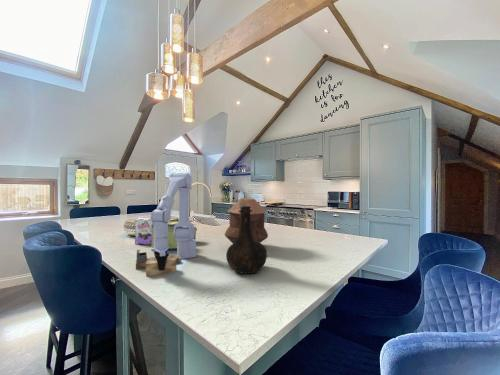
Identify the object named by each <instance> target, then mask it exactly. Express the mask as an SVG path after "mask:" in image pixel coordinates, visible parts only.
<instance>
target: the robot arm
mask: <svg viewBox="0 0 500 375" xmlns="http://www.w3.org/2000/svg"><path fill="white" fill-rule="evenodd" d="M168 184H169V185H168V188H167V189H166V190H167V191H166V194H165V195H163V196H161V199H160V201H159V203H158V204H157V207H156V209H154V210H152V212H151V213H150V218H151V221H152V226H153V227H154V248H152V247H151V248H150V251H152V250H154V251H153V254H154V257H155V258H156V260H157V263H158V268H159V271H161V270H164V269H165V265H166V260H167V258H168V256H169V255H170V253H168V252H169V251H168V249H169V247H168V222H170V220H171V217H172V216H171V215H172V208H173V206H174V203H175V196H176V194H177V192H178V194H179V196H178V197H179V199H178V201H179V203H178V221H177V222H178V223H177V224H176V225H175V227H174V232H173V235H174V238H175V239H176V240H177V251H176V254H177V255H178V256H179V260H184V259H190V258H197V242H196V239H193V238H194V235H195V230H194V226H195V225H194V224H193V222H191V221H190V219H189V218H190V217H189V216H190V190H192V186H193V180H192V176H191V174H190V173H189V172H186V173H174V172H173V173H170V174H169V177H168Z"/></svg>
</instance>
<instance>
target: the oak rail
mask: <svg viewBox="0 0 500 375" xmlns="http://www.w3.org/2000/svg"><path fill="white" fill-rule="evenodd" d="M175 272H177V263H176V259H175V258H171V259H167V260H166V265H165V269H164V270H161V271H159V268H158V263H157V260H156V261H148V262H146V268H145V276H146V277H150V276H156V275H162V274H169V273H175Z"/></svg>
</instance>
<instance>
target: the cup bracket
mask: <svg viewBox="0 0 500 375" xmlns="http://www.w3.org/2000/svg"><path fill="white" fill-rule="evenodd" d="M147 253H148V252H147V251H145V252H140V249H137V250H136V259H137V263H143V262H147V258H148V255H147Z"/></svg>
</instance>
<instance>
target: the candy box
mask: <svg viewBox="0 0 500 375" xmlns="http://www.w3.org/2000/svg"><path fill="white" fill-rule="evenodd" d="M134 244H135V245H150V246H152V221H151V217H150V218H149V217H148V218H142V217H138V218H135V219H134Z"/></svg>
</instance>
